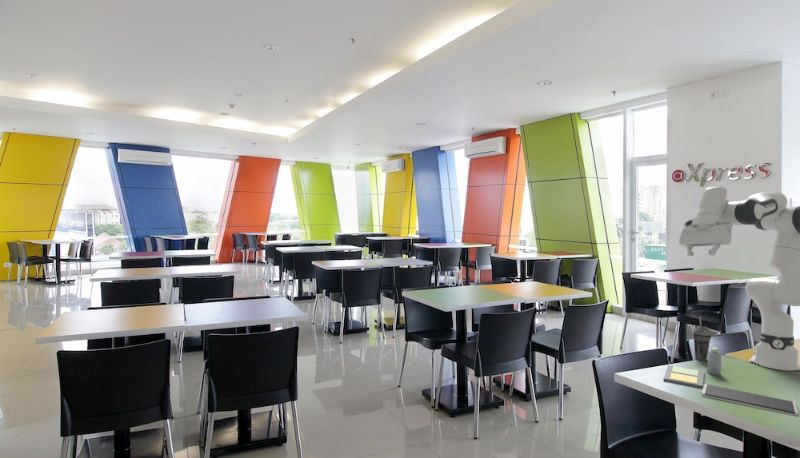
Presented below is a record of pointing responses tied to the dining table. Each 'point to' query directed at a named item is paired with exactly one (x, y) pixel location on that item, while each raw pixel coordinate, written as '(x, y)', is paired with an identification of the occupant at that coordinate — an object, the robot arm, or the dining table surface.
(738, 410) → the dining table surface
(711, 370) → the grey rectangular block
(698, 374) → the colour board
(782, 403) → the grey tray
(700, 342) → the beverage cup
